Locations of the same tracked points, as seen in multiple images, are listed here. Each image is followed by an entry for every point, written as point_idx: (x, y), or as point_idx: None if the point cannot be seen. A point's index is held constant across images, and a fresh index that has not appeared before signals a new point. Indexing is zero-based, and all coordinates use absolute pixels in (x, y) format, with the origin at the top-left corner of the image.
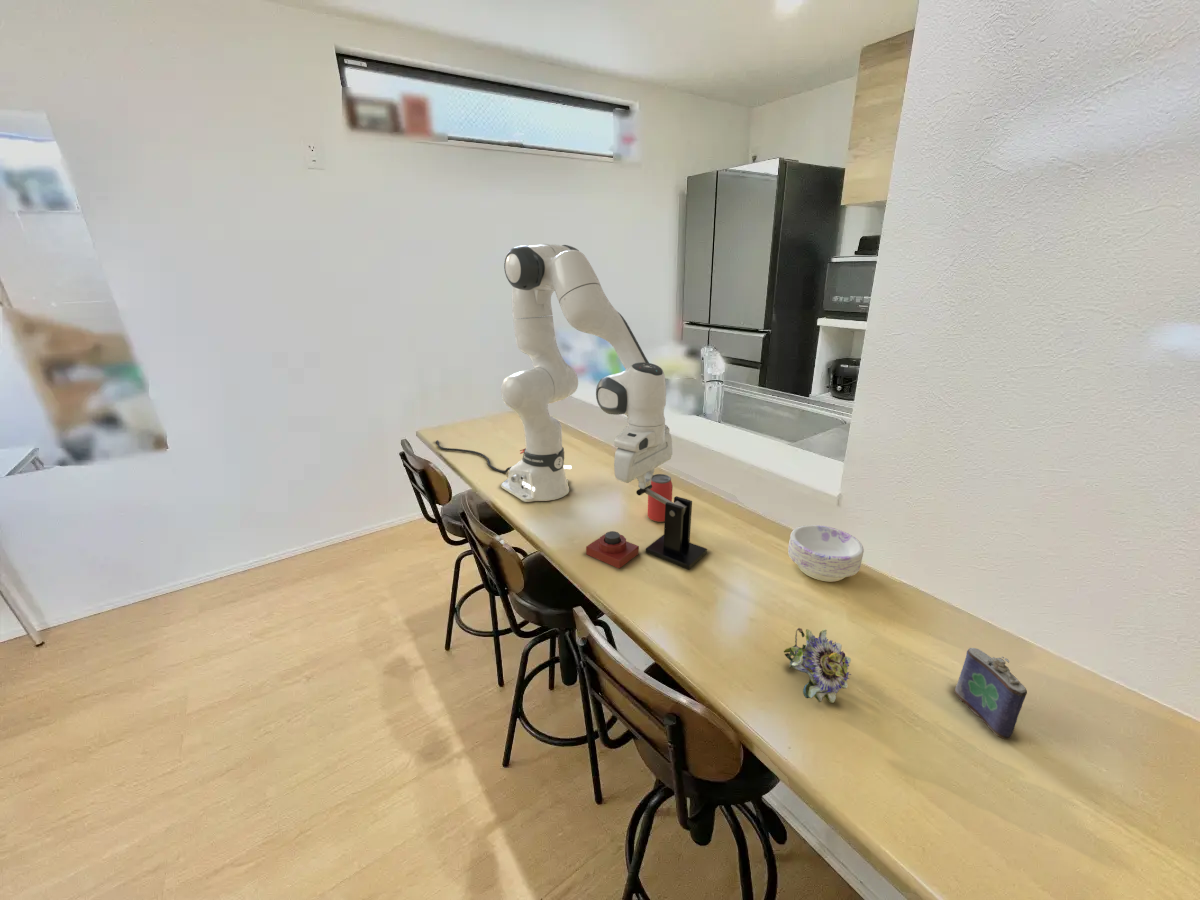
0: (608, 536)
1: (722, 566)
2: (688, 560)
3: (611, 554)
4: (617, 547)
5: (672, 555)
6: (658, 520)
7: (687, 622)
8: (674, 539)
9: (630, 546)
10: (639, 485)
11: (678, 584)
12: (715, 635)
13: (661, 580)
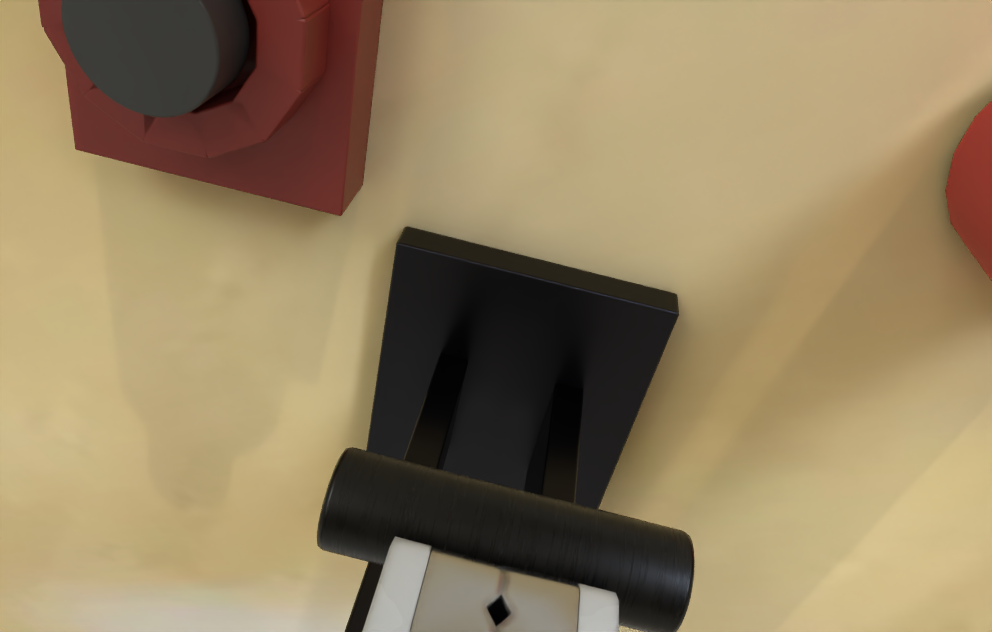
0: (85, 11)
1: None
2: None
3: None
4: (115, 114)
5: (406, 413)
6: (947, 195)
7: (21, 515)
8: None
9: (298, 157)
10: (383, 577)
11: (219, 454)
12: (39, 590)
13: (192, 380)
